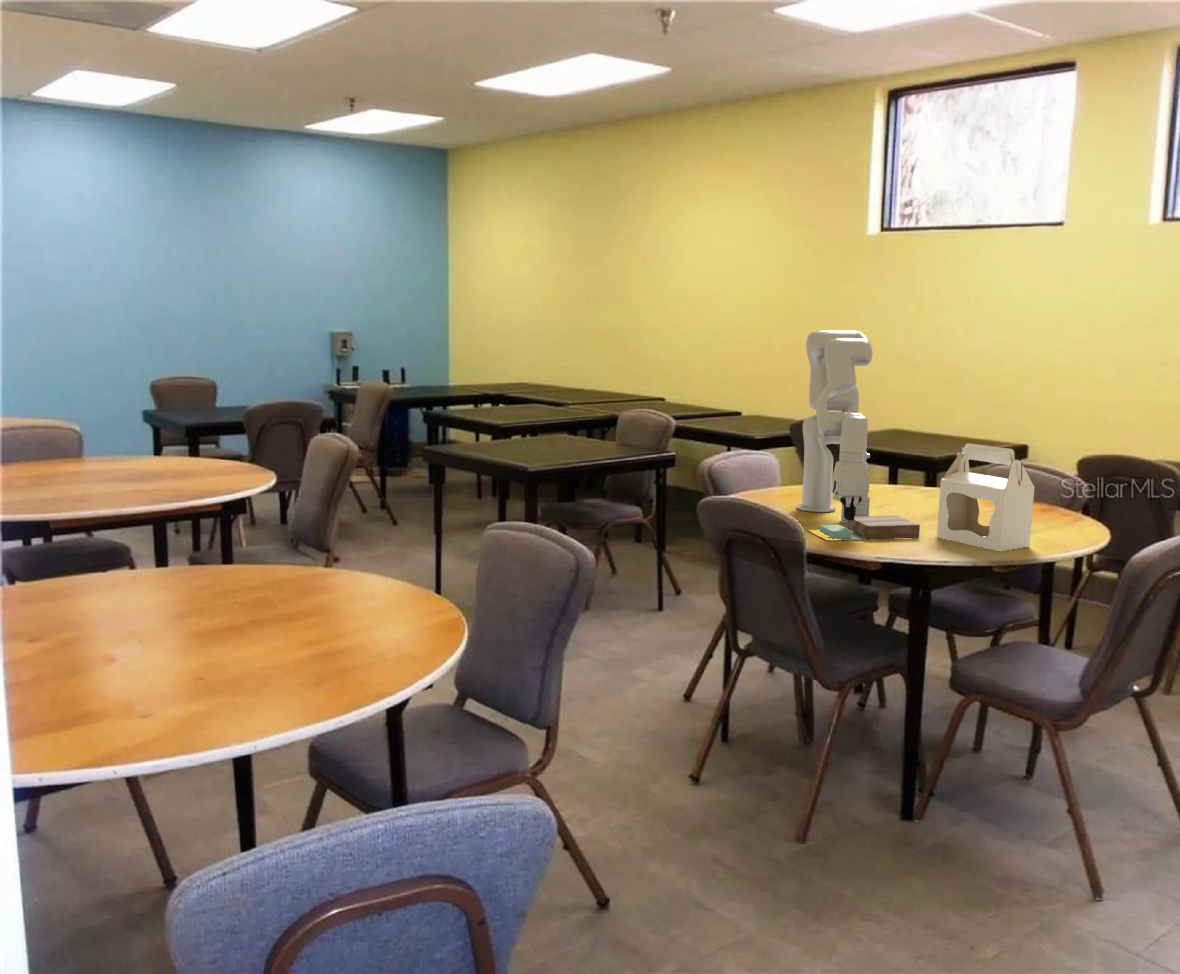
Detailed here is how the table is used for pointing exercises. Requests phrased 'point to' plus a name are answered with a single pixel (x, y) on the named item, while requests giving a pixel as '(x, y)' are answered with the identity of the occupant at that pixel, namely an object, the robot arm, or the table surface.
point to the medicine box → (858, 510)
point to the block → (836, 531)
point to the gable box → (1007, 495)
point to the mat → (854, 537)
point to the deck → (883, 527)
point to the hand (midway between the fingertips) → (849, 519)
